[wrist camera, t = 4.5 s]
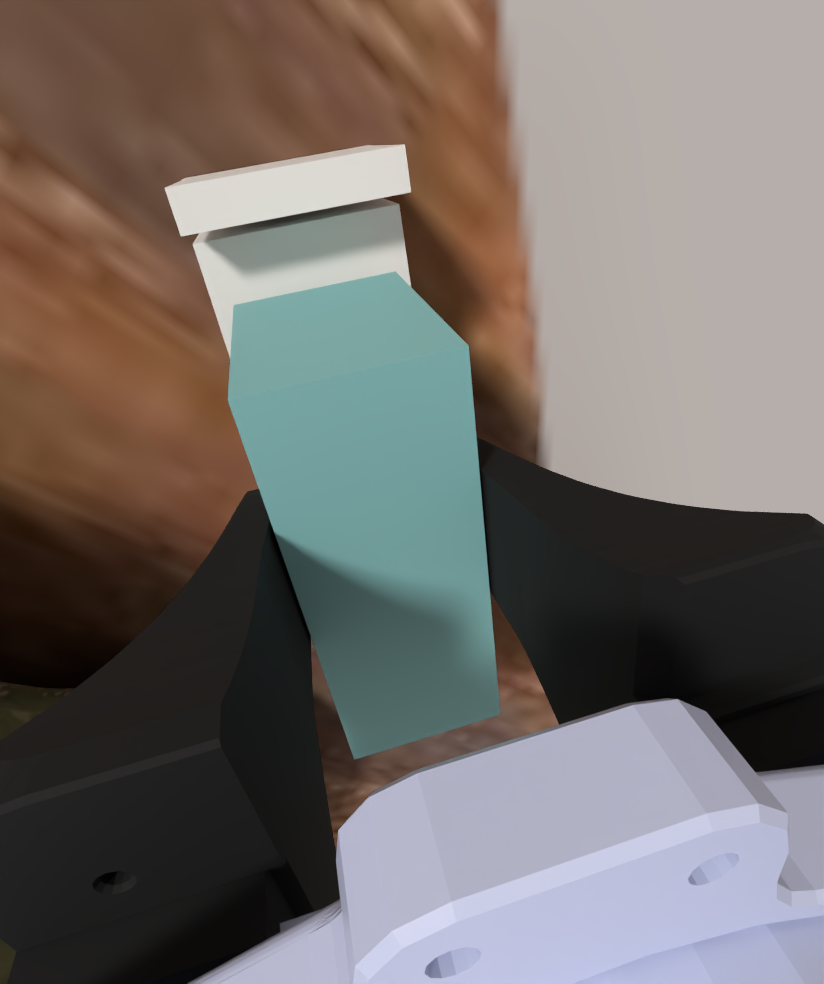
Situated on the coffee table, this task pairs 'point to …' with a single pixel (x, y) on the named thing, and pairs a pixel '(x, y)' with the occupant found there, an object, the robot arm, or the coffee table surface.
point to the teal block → (373, 499)
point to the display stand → (294, 224)
